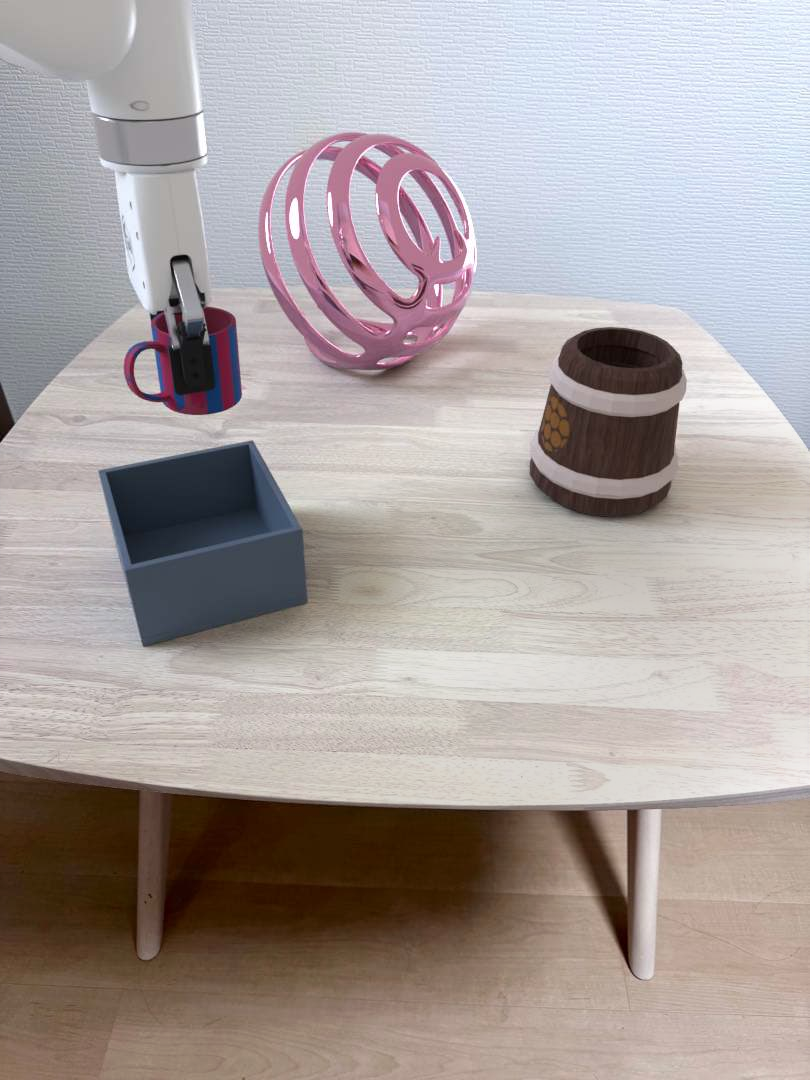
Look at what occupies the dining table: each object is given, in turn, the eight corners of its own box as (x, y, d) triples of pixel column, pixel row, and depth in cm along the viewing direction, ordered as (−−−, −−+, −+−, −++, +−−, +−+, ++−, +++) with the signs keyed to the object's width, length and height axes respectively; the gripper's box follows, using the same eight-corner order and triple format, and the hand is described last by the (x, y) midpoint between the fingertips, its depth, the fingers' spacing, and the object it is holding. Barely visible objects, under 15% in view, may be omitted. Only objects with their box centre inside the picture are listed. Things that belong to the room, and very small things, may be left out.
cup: (257, 400, 72) (251, 324, 68) (150, 436, 67) (137, 355, 63) (215, 373, 76) (208, 299, 72) (111, 404, 71) (96, 326, 67)
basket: (302, 528, 68) (252, 439, 79) (124, 570, 64) (97, 470, 75) (307, 603, 73) (260, 509, 84) (142, 646, 69) (115, 541, 79)
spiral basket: (185, 182, 105) (312, 65, 85) (354, 199, 124) (491, 106, 104) (238, 402, 107) (376, 338, 87) (397, 386, 126) (541, 330, 105)
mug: (690, 522, 84) (728, 384, 74) (538, 523, 83) (558, 384, 74) (638, 421, 99) (664, 298, 90) (510, 422, 99) (524, 297, 90)
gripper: (80, 117, 65) (121, 337, 75) (116, 173, 52) (159, 428, 63) (179, 112, 67) (205, 326, 78) (236, 164, 55) (258, 410, 65)
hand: (184, 369), depth 70 cm, fingers closed on cup, 6 cm apart
